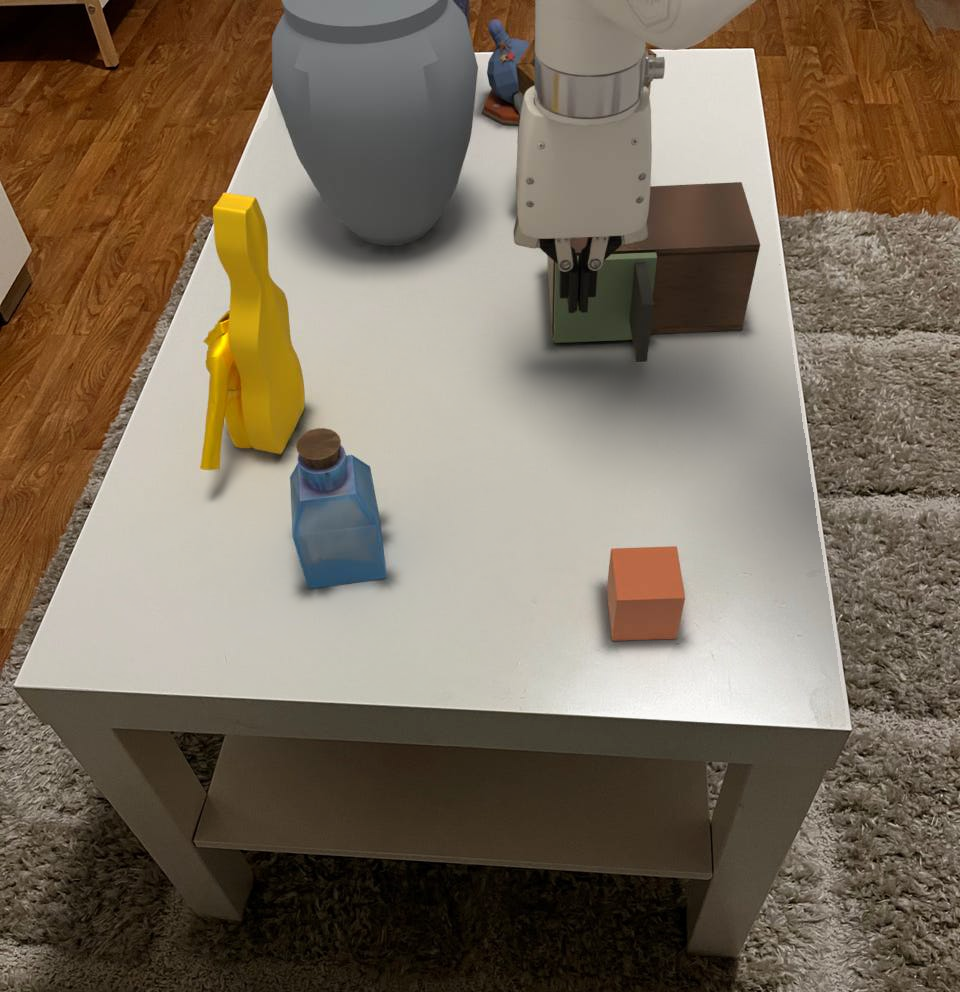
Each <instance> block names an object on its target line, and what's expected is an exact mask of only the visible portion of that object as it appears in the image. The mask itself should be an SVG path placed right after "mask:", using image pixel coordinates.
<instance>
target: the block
mask: <svg viewBox="0 0 960 992" xmlns="http://www.w3.org/2000/svg"><path fill="white" fill-rule="evenodd" d="M681 569H682V568H681V562H680V557H679V550H678V546H676V545H672V546H646V547H644V546H642V547H641V546H640V547H617V548H616V547H615V548H613V547H612V548H611V549H610V554H609V565H608V573H607V582H606V597H607V606H608V615H609V616H608V617H609V627H610V632H611V633H610V635H611V641H613V642H614V641H615V642H617V641H618V642H619V641H650V640H676V639H677V638H678V635H679V631H680V630H679V629H680V625H681V621H682V615H683V611H684V606H685V602H686V593H685V588H684V581H683V576H682V570H681Z"/></svg>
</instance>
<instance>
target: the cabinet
mask: <svg viewBox="0 0 960 992" xmlns="http://www.w3.org/2000/svg"><path fill="white" fill-rule="evenodd" d="M647 228H648V237H647V238H646V239H645V240H643V241H639V242H635V243H631V244H627V245H625V244H623V245H621V246H620V247H619V248H618V249H617V250H616V251H615V252H613V253H612V254H629V253H652V252H656V255H657V262H656V271H655V279H654V288H653V296H652V297H653V303H654V308H653V316H652V324H651V333H650V335H660V334H682V333H683V334H684V333H685V334H686V333H706V332H707V333H709V332H726V331H727V332H733V331H743V328H744V323H745V319H746V314H747V309H748V304H749V300H750V295H751V291H752V286H753V281H754V276H755V271H756V267H757V262H758V257H759V253H760V248H761V242H760V238H759V235H758V232H757V229H756V225H755V222H754V219H753V216H752V212H751V208H750V205H749V202H748V199H747V195H746V191H745V189H744V186H743V182H742V181H738V182H737V181H736V182H734V181H733V182H715V183H713V182H712V183H692V184H690V183H689V184H670V185H669V184H668V185H650V201H649V211H648V218H647ZM586 239H587V237H581V238H570V240H571V246H572V247H573V248H574V249H575V252H576V254H577V256H579V254H581V250H582V249H583V248H584V247H585V244H586ZM546 260H547V261H546V262H547V263H546V264H547V268H546V269H547V271H546V278H547V288H548V290H547V291H548V301H549V303H548V304H549V315H550V325H551V337H552V339H554V298H555V261H554V260H552V259H551V258H550V257H549V256H548V255H547V259H546Z"/></svg>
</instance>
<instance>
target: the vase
mask: <svg viewBox="0 0 960 992" xmlns="http://www.w3.org/2000/svg"><path fill="white" fill-rule="evenodd" d="M281 5H282V8H283V13H282V16H281V17H280V19H279V21H278V23H277V24H276V27H275V28H274V31H273V33H272V35H271V62H272V63H271V69H272V70H271V72H272V73H271V76H272V77H271V79H272V80H271V82H272V85H271V87H272V90H273V93H274V96H275V99H276V102H277V105H278V107H279V110H280V113H281V115H282V119H283V122H284V124H285V126H286V129H287V132H288V136H289V137H290V141H291V144H292V146H293V150H294V151H295V153H296V156H297V158H298V160H299V162H300V163H301V166H302V167H303V169H304V170H305V172H306V174H307V176H308V177H309V179H310V181H311V182H312V184H313V186H314V187H315V188H314V189H316V192H317V193H318V194H319V196H320V198H321V200H322V201H323V203H325V205H326V206H327V208H329V209H330V210H331V212H332V213H333V214H334V215H335V216H336V217H337V218H338V219H339V220H340V222H341V223H342V224H343V225H344V226H345V227H346V228H347V229H348V230H349V231H351V232H352V233H354V234H355V235H356V236H358V237H359V238H360V239H361V240H363V241H365V242H367V243H371V244H373V245H377V246H400V245H406V244H410V243H412V242H415V241H417V240H419V239H421V238H422V237H424V236H425V235H427V233H428V232H430V230H431V229H432V228H433V227H434V225H436V223H437V222H438V221H439V220H440V219H441V217H442V215H443V213H444V211H445V209H446V207H447V205H448V204H449V202H450V200H451V198H452V196H453V194H454V192H455V190H456V189H457V186H458V183H459V180H460V176H461V172H462V169H463V166H464V162H465V159H466V155H467V152H468V149H469V145H470V141H471V137H472V132H473V131H472V130H473V121H474V113H475V112H474V111H475V101H476V91H477V83H478V73H479V66H478V61H477V57H476V53H475V49H474V45H473V41H472V37H471V32H470V27H469V28H468V24H467V19H466V16H465V15H464V14H463V12H462V11H461V9H460V8H459V7H458V6H457V5H456V4H455V3H454V2H453V0H281Z"/></svg>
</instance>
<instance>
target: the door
mask: <svg viewBox="0 0 960 992" xmlns="http://www.w3.org/2000/svg"><path fill="white" fill-rule="evenodd" d="M577 259H578V256H577ZM656 262H657V255H656V252H652V253H629V254H611V255H610V256H609V257H608V258H606V259H605V260H604V261H603V264H602V267H601V268H600V269H599V270H598V271H597V286H596V297H588V312H587V313H581V311H579V308H578V305H577V311H575V313H569V312H568V301H567V298H562V299H560V292H559V283H560V269H559V267H558V264H557V263H556V262H555V298H554V338H553V343H554V344H563V343H565V344H566V343H586V342H609V341H610V342H612V341H631V340H632V346H633V353H634V359H635V363H637V364H638V363H647V362H648V357H649V349H650V340H651V334H650V333H651V324H652V316H653V308H654V303H653V297H652V296H653V288H654V279H655V271H656Z"/></svg>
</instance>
